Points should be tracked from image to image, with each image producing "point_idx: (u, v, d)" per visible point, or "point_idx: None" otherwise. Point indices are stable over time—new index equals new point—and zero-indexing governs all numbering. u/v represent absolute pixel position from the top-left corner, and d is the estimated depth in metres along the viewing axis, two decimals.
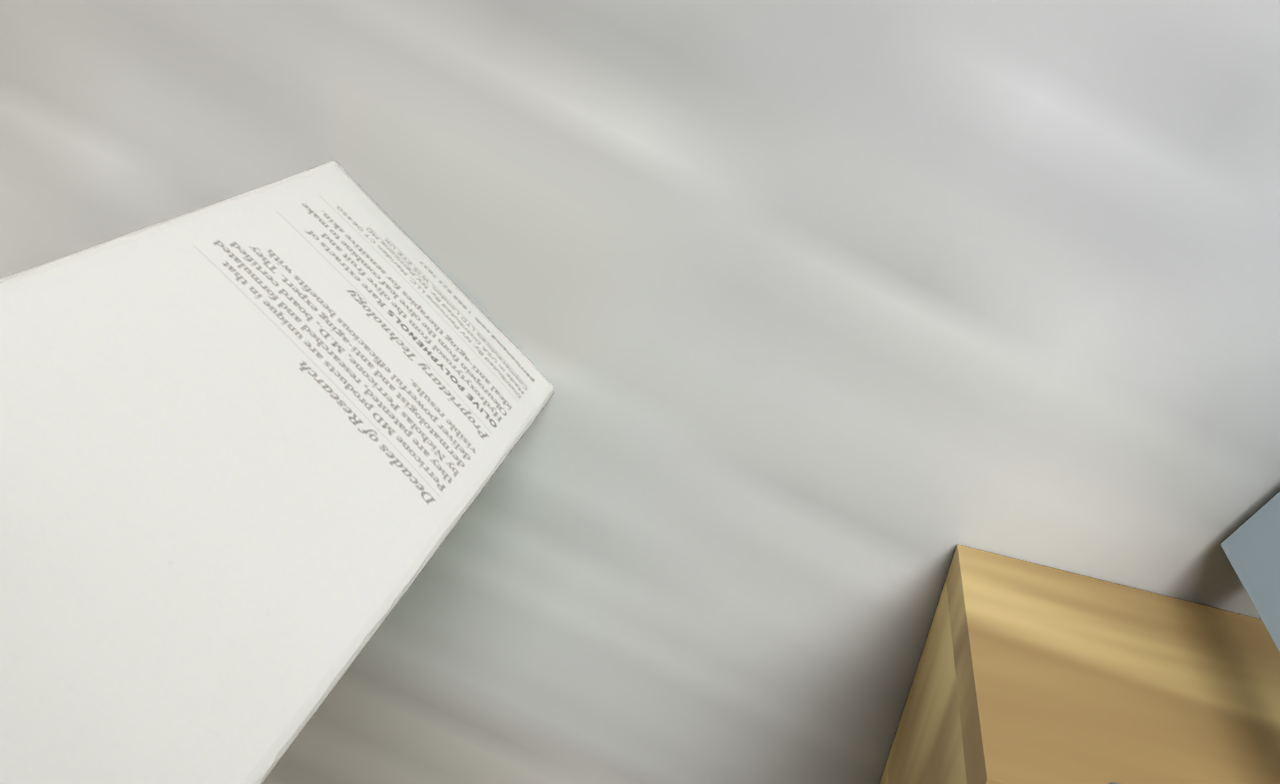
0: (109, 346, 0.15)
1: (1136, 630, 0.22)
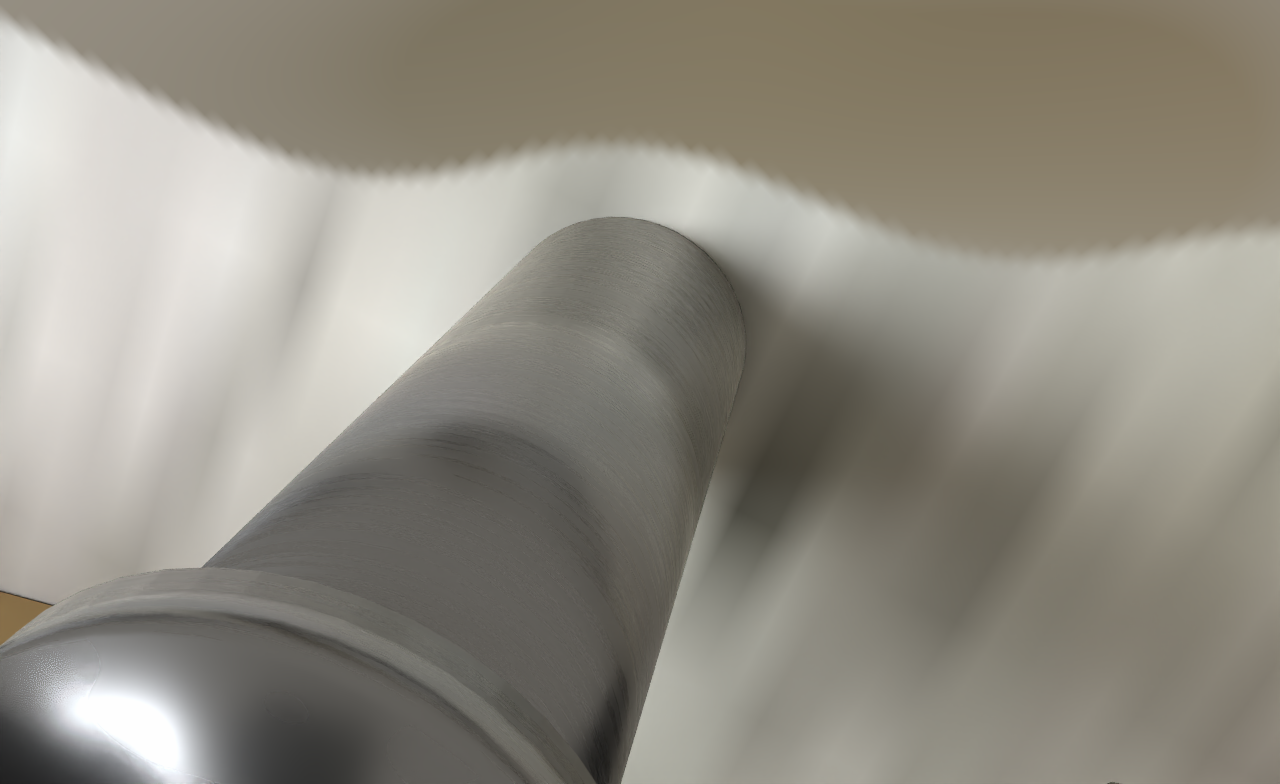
0: None
1: None
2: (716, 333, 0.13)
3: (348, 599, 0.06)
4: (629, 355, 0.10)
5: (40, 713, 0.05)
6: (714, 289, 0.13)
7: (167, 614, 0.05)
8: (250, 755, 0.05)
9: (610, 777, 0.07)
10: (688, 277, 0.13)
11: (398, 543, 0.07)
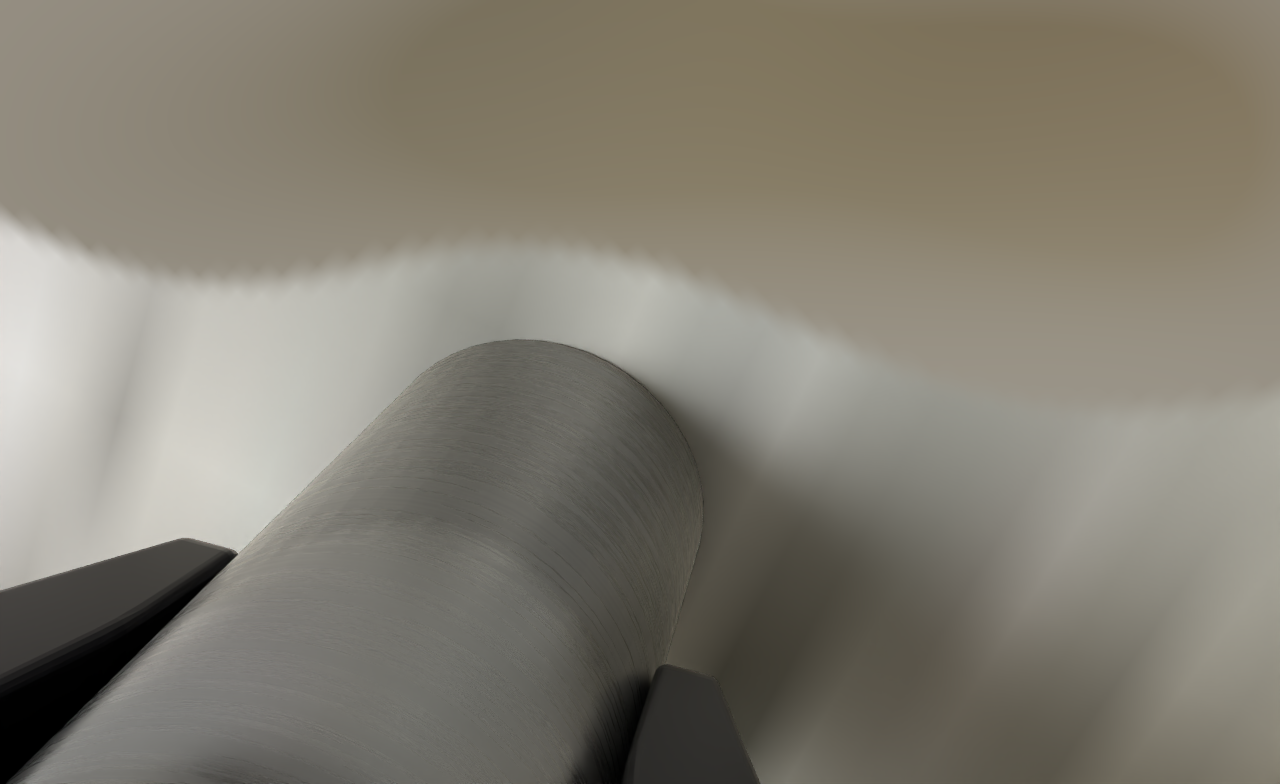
0: None
1: None
2: (652, 523, 0.09)
3: None
4: (494, 622, 0.07)
5: None
6: (656, 448, 0.10)
7: None
8: None
9: None
10: (614, 439, 0.09)
11: None
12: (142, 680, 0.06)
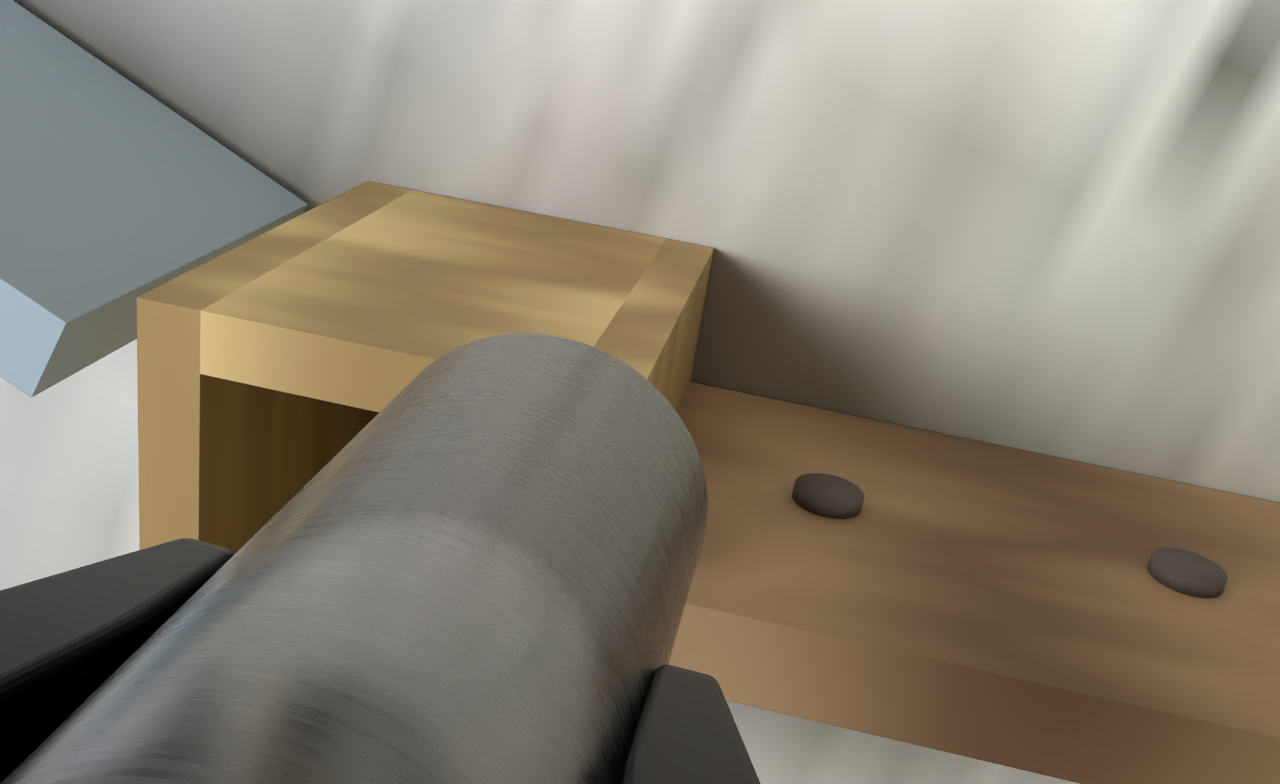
0: None
1: None
2: (657, 517, 0.09)
3: None
4: (501, 616, 0.07)
5: None
6: (661, 442, 0.10)
7: None
8: None
9: None
10: (619, 433, 0.09)
11: None
12: (148, 671, 0.06)
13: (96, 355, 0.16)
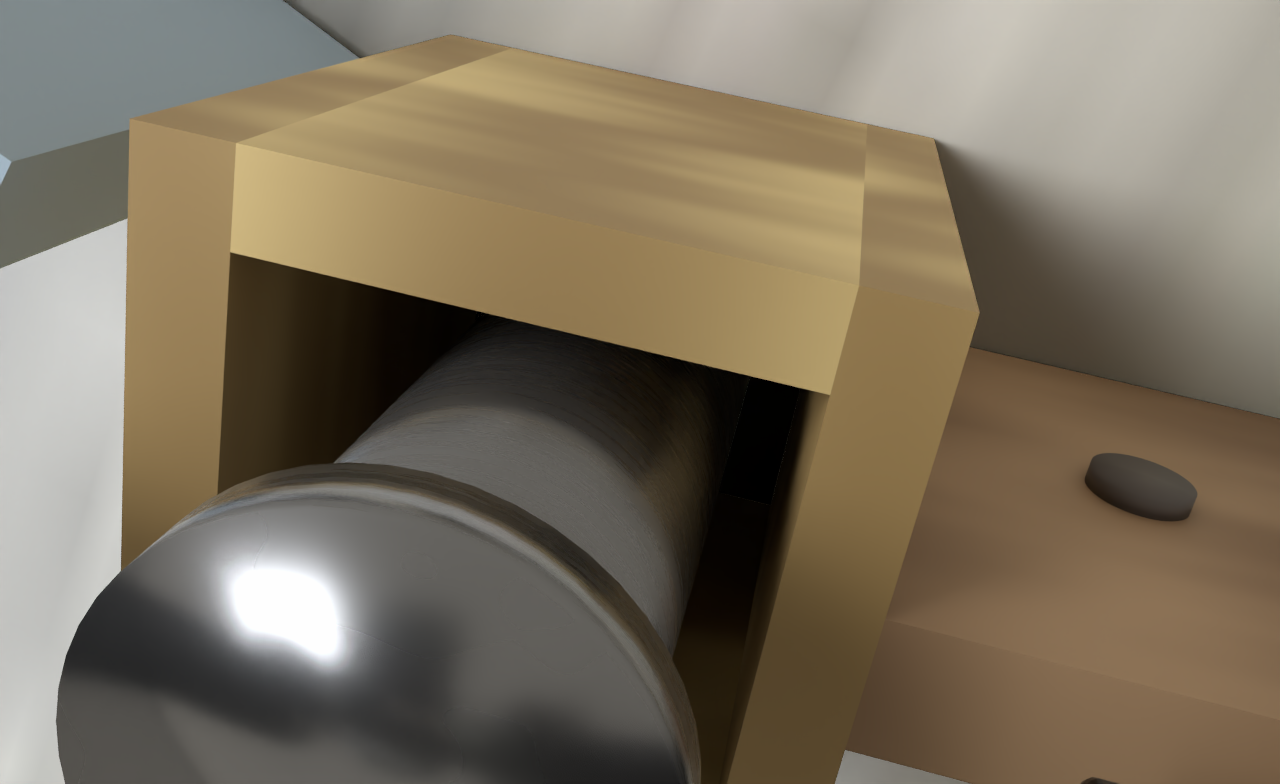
0: None
1: None
2: None
3: (461, 486, 0.07)
4: None
5: (214, 576, 0.07)
6: None
7: (319, 494, 0.07)
8: (388, 608, 0.06)
9: None
10: None
11: (486, 457, 0.08)
12: (487, 327, 0.11)
13: (62, 233, 0.10)
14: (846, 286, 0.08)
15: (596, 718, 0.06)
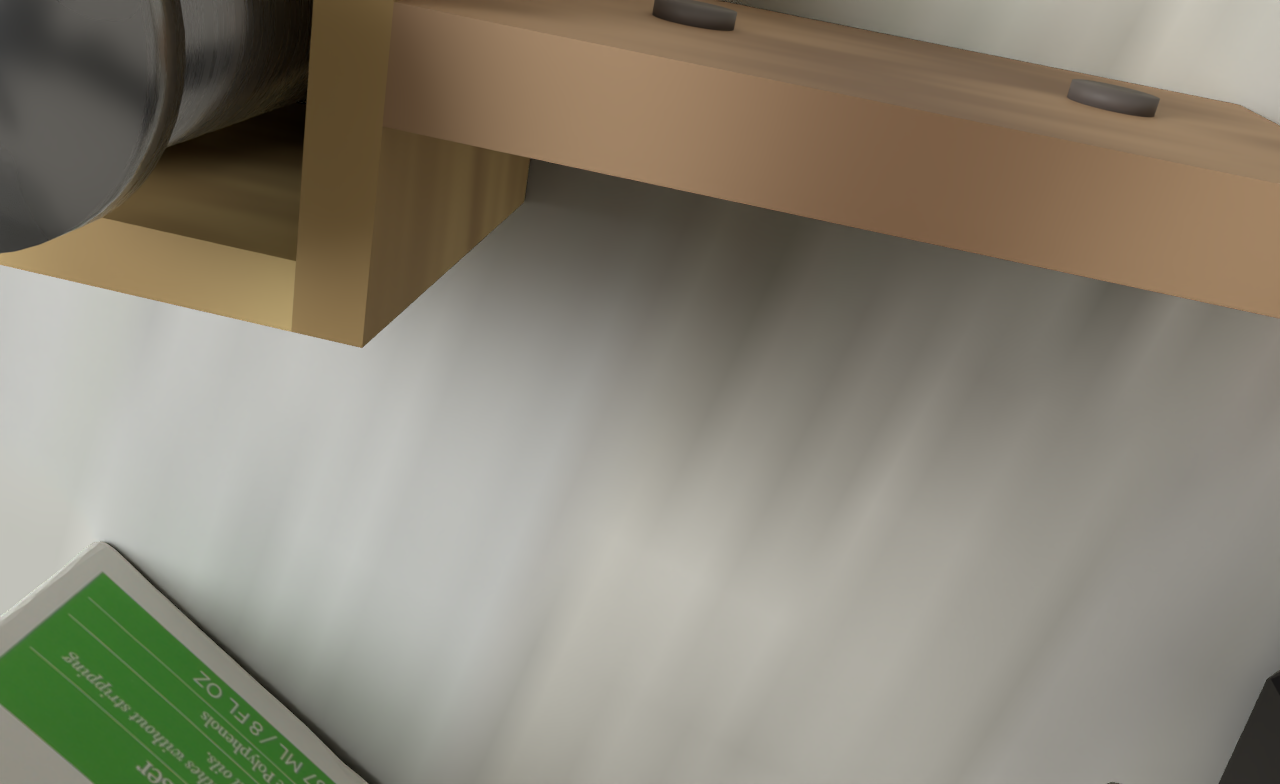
0: None
1: None
2: None
3: None
4: None
5: None
6: None
7: None
8: None
9: None
10: None
11: None
12: None
13: None
14: None
15: None
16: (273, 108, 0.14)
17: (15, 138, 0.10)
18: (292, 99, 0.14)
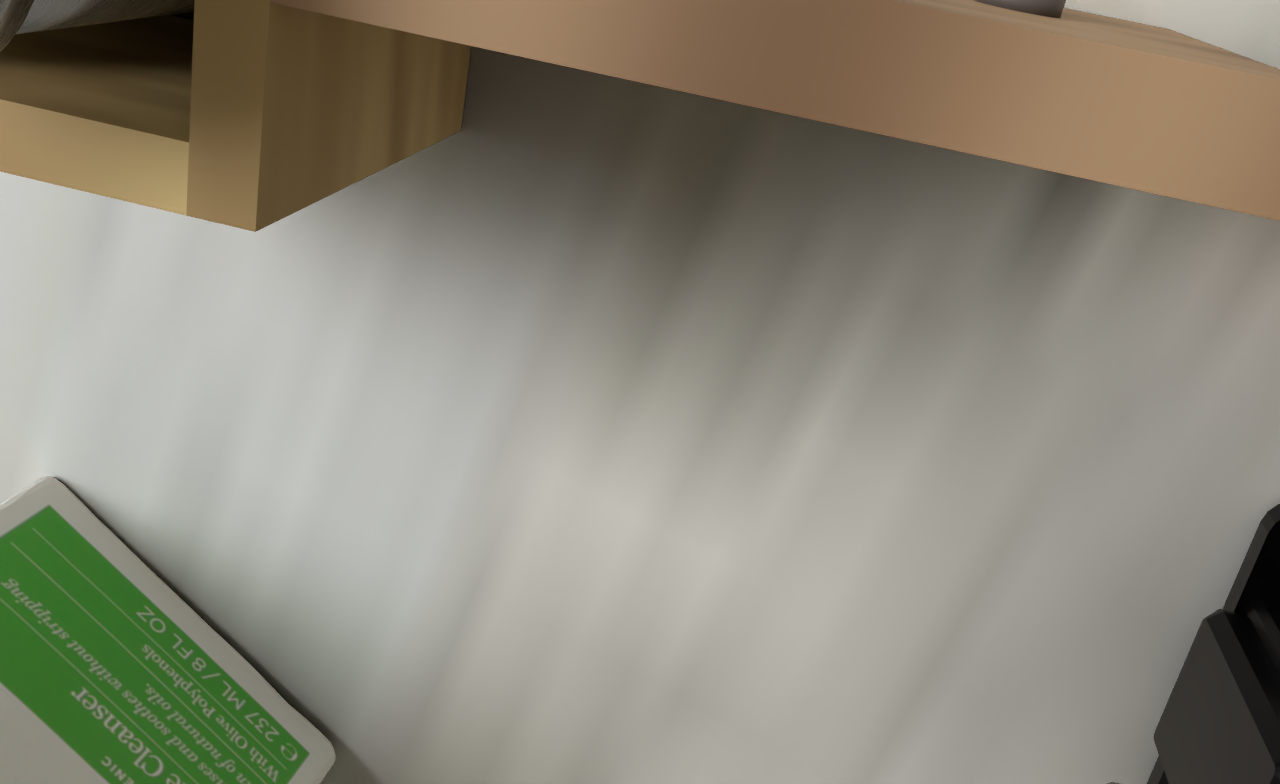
0: None
1: None
2: None
3: None
4: None
5: None
6: None
7: None
8: None
9: None
10: None
11: None
12: None
13: None
14: None
15: None
16: (183, 5, 0.14)
17: None
18: None
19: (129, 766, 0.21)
